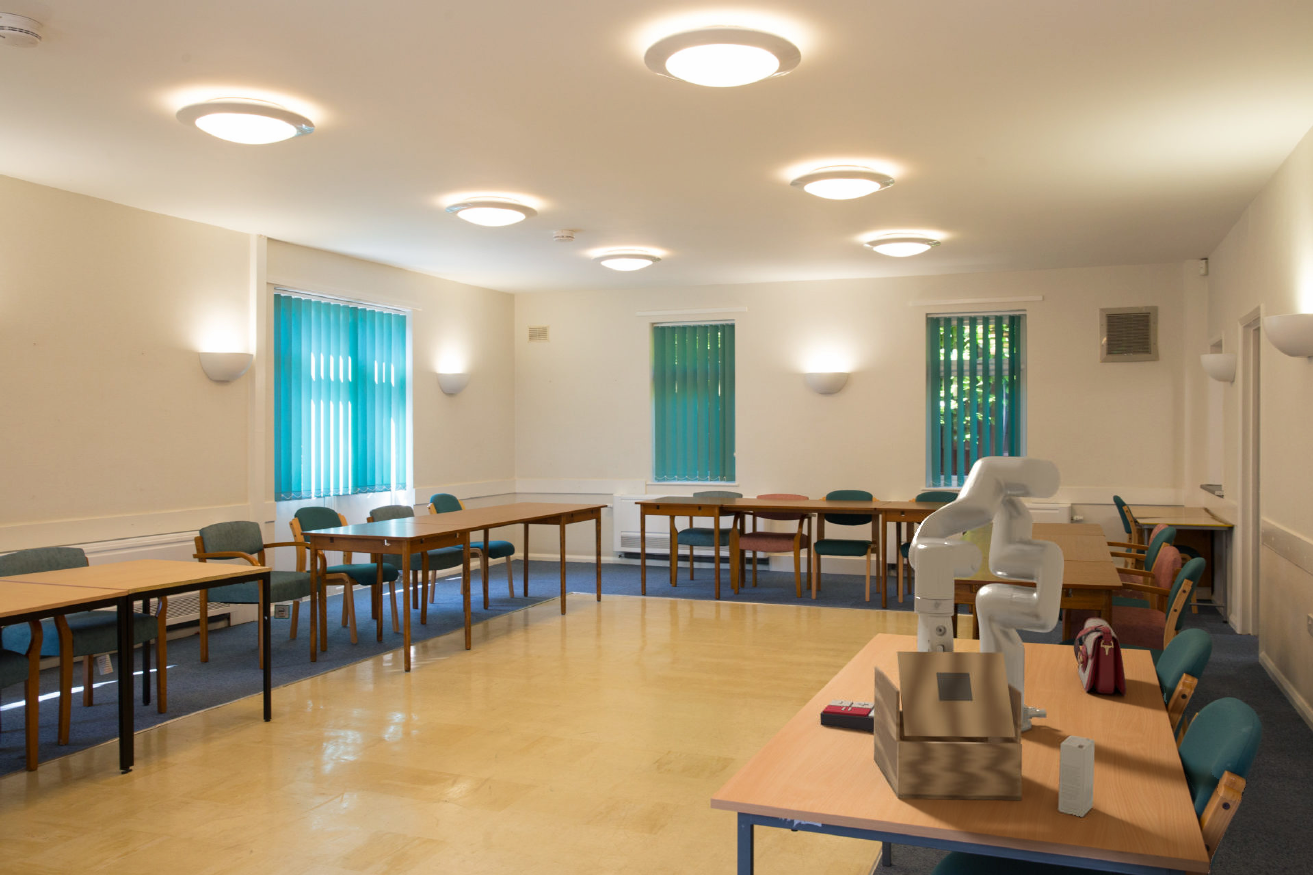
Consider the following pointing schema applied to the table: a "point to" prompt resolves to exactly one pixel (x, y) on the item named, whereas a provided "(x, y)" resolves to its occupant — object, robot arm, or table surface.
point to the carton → (944, 755)
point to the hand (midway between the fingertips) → (933, 698)
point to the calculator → (849, 715)
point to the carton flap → (955, 694)
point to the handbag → (1100, 658)
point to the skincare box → (1076, 775)
